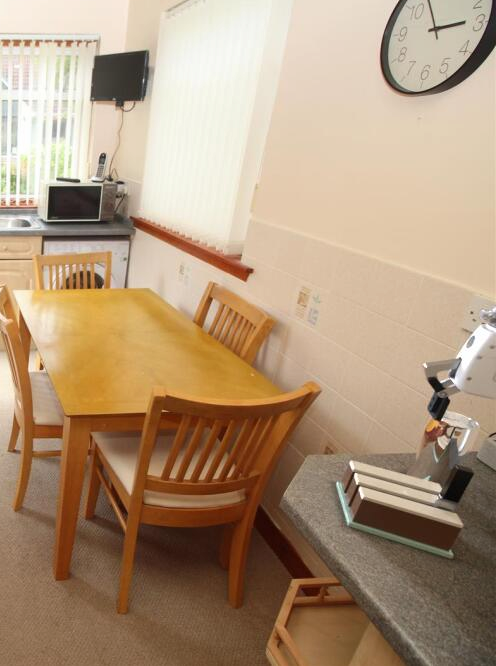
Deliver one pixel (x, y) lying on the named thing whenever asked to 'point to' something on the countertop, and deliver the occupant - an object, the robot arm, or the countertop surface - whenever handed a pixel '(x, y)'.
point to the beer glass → (443, 446)
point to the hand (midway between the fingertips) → (473, 425)
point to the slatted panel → (397, 508)
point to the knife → (454, 488)
